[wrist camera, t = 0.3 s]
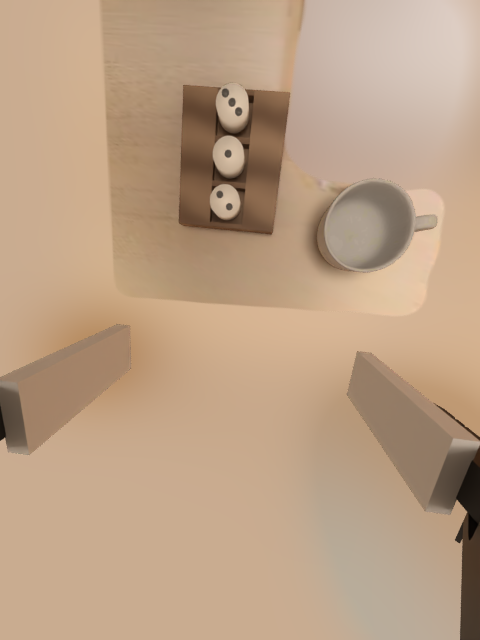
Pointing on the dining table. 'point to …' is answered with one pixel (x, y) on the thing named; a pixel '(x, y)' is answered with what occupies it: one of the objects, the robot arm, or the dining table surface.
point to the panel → (259, 152)
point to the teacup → (369, 226)
